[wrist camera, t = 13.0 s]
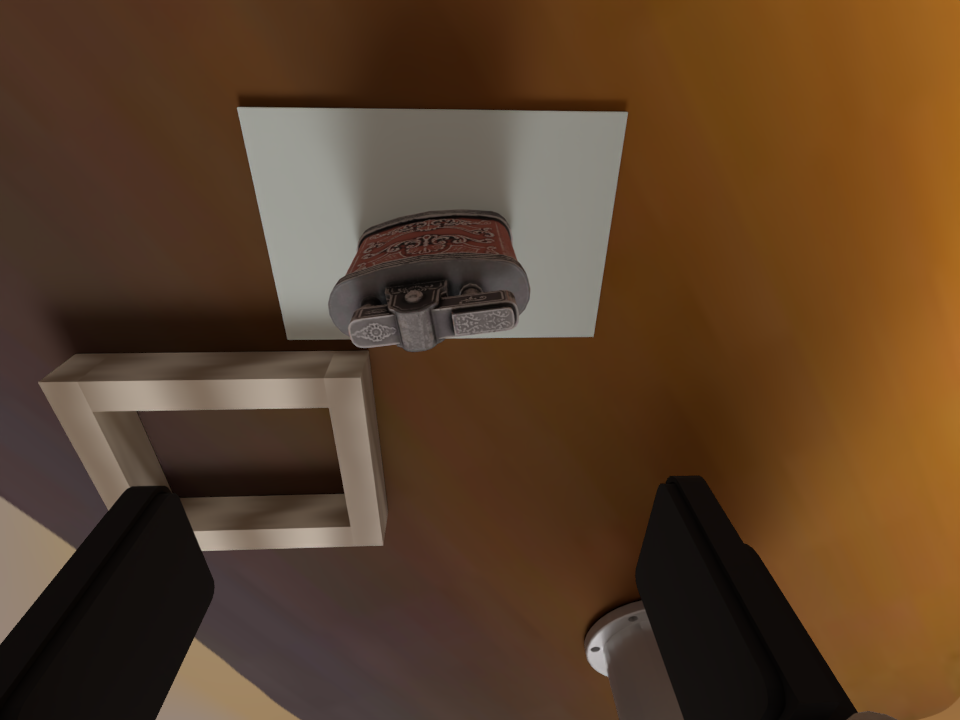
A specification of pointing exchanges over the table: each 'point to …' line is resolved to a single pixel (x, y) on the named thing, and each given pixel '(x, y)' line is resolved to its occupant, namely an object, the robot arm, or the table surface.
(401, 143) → the mat
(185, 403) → the slot holder
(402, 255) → the lighter
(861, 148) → the table surface
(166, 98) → the table surface
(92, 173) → the table surface
